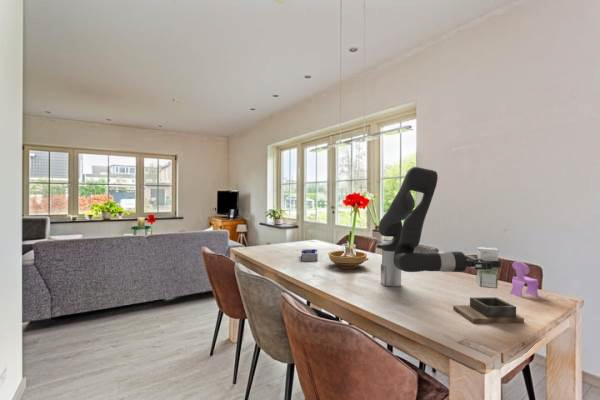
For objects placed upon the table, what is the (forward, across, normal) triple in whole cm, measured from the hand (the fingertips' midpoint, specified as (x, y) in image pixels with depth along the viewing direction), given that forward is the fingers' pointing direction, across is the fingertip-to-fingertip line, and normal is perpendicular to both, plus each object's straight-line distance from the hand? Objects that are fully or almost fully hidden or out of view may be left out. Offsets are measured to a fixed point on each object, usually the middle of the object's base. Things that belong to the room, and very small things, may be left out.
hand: (492, 261), depth 113 cm
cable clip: (-64, +104, +21) cm, 124 cm away
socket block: (-3, -1, +20) cm, 20 cm away
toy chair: (+29, +22, +20) cm, 41 cm away
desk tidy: (-64, +104, +20) cm, 124 cm away
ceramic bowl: (-41, +80, +20) cm, 92 cm away
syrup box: (-2, 0, +9) cm, 10 cm away
